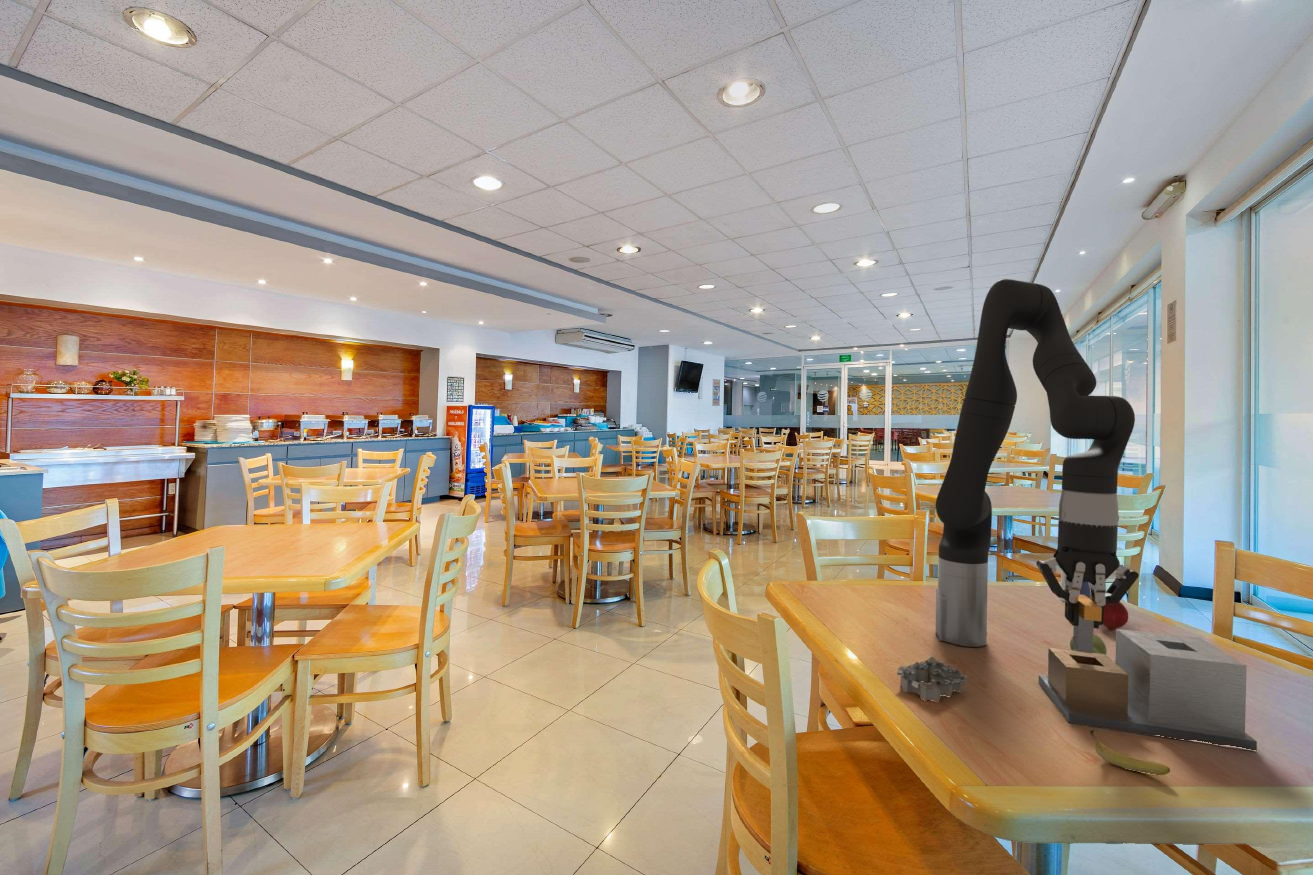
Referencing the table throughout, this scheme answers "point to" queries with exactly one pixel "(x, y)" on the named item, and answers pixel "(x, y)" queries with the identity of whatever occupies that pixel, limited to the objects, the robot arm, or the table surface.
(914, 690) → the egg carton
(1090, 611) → the key
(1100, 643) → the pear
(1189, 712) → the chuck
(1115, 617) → the onion
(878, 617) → the table surface
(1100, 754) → the banana
